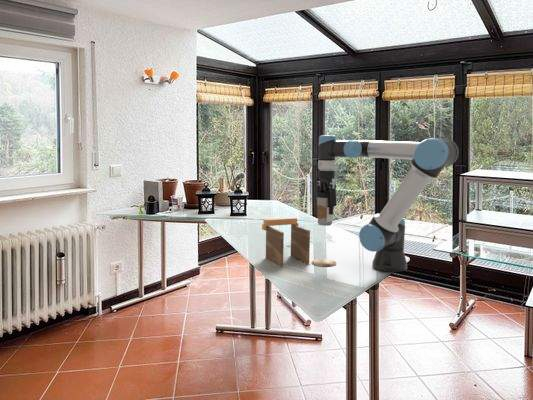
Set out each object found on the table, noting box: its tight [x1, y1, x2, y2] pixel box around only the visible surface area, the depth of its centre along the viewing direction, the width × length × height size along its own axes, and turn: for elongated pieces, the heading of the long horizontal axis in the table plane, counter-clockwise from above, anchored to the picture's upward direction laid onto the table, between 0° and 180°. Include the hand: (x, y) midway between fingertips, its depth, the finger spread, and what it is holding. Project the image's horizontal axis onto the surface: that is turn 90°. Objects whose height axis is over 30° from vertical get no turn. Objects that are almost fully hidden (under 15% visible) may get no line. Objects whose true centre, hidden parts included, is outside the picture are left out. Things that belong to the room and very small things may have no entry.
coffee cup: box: [315, 191, 335, 227], centre depth 229 cm, size 8×8×15 cm
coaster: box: [311, 258, 337, 268], centre depth 232 cm, size 11×11×1 cm
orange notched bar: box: [261, 216, 299, 231], centre depth 241 cm, size 18×3×5 cm, turn 113°
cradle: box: [265, 224, 311, 268], centre depth 235 cm, size 14×17×16 cm
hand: (324, 219), depth 229 cm, fingers closed on coffee cup, 7 cm apart
